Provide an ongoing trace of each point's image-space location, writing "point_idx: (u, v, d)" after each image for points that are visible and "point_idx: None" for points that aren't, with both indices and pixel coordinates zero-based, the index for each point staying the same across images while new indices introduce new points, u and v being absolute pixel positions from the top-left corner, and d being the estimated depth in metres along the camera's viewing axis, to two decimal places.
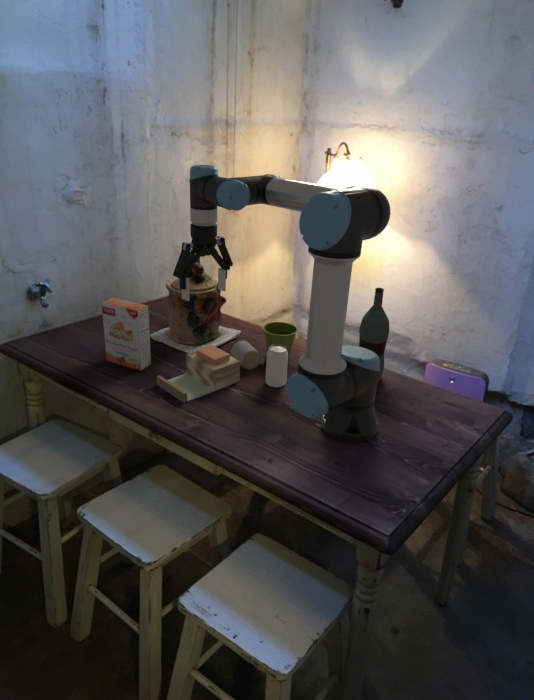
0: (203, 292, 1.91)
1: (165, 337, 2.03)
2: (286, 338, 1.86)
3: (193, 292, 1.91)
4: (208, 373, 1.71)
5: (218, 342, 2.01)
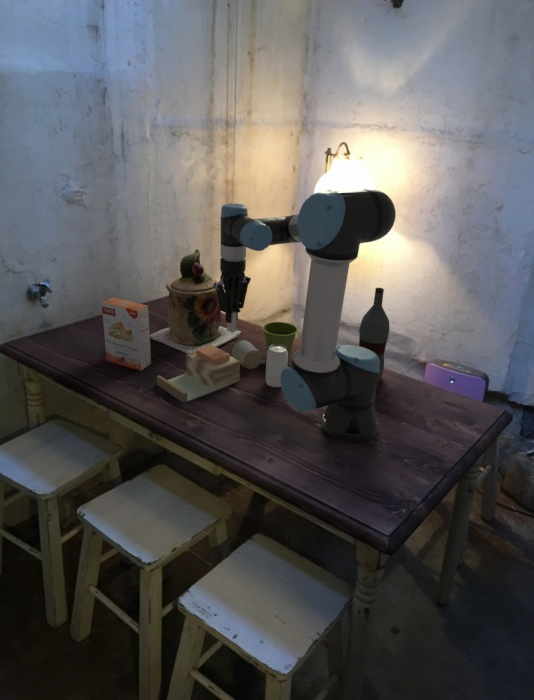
0: (203, 292, 1.91)
1: (165, 338, 2.03)
2: (286, 338, 1.86)
3: (193, 292, 1.91)
4: (208, 373, 1.71)
5: (218, 342, 2.01)
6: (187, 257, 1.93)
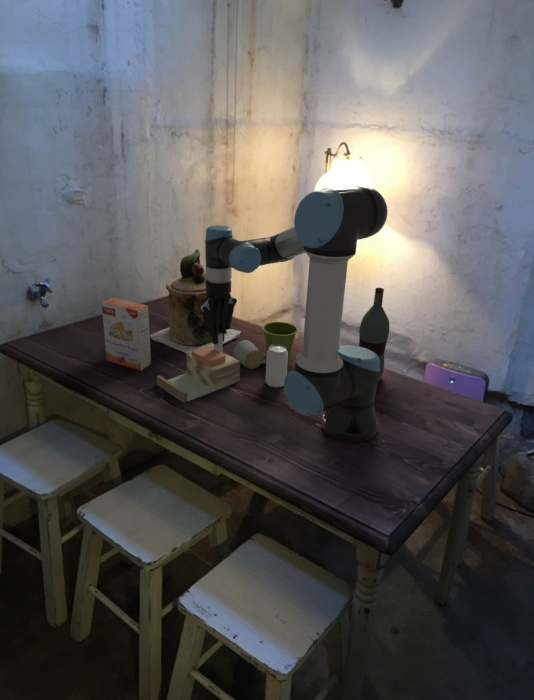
0: (203, 293, 1.91)
1: (165, 338, 2.03)
2: (286, 338, 1.86)
3: (193, 292, 1.91)
4: (208, 373, 1.71)
5: None
6: (187, 257, 1.93)
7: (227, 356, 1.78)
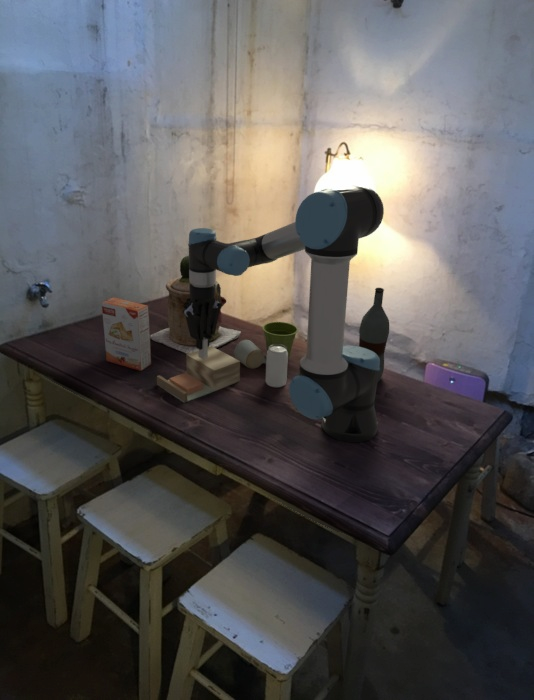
0: None
1: (165, 338, 2.02)
2: (286, 338, 1.86)
3: None
4: (208, 373, 1.71)
5: (218, 343, 2.00)
6: (187, 257, 1.93)
7: (227, 356, 1.78)
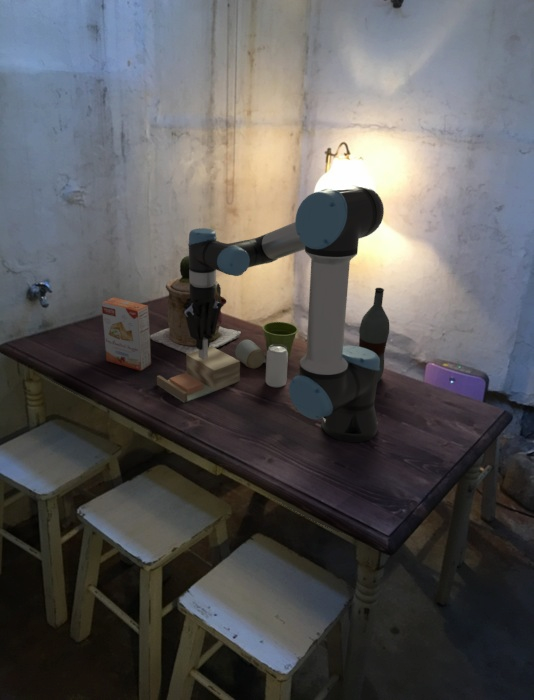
0: None
1: (165, 338, 2.02)
2: (286, 338, 1.86)
3: None
4: (208, 373, 1.71)
5: (218, 343, 2.00)
6: (187, 257, 1.92)
7: (227, 356, 1.78)
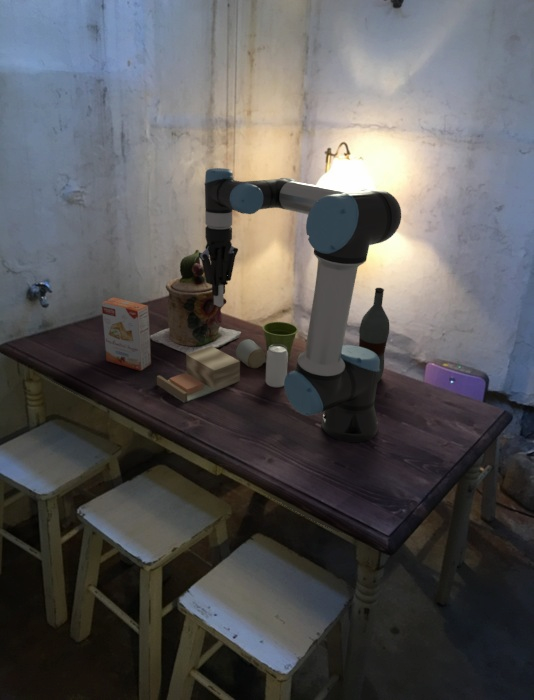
0: (203, 293, 1.91)
1: (165, 339, 2.02)
2: (286, 338, 1.86)
3: (193, 293, 1.90)
4: (208, 373, 1.71)
5: (218, 343, 2.00)
6: (187, 258, 1.92)
7: (227, 356, 1.78)
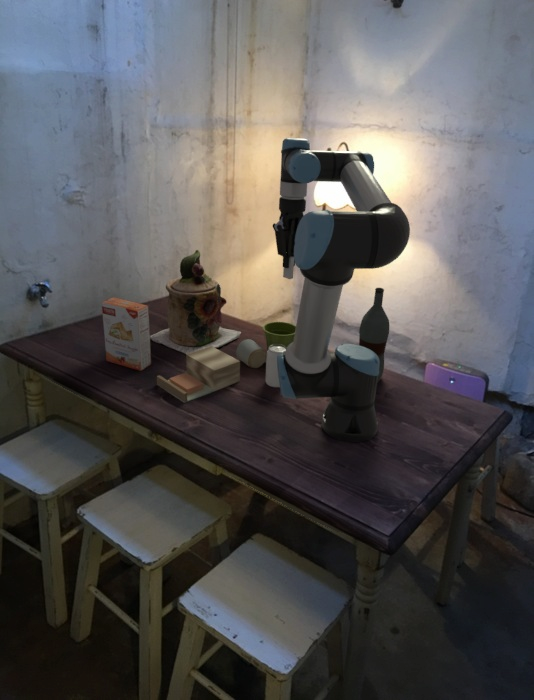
0: (203, 293, 1.90)
1: (165, 339, 2.02)
2: (286, 338, 1.86)
3: (193, 293, 1.90)
4: (208, 373, 1.71)
5: (218, 343, 2.00)
6: (187, 258, 1.92)
7: (227, 356, 1.78)
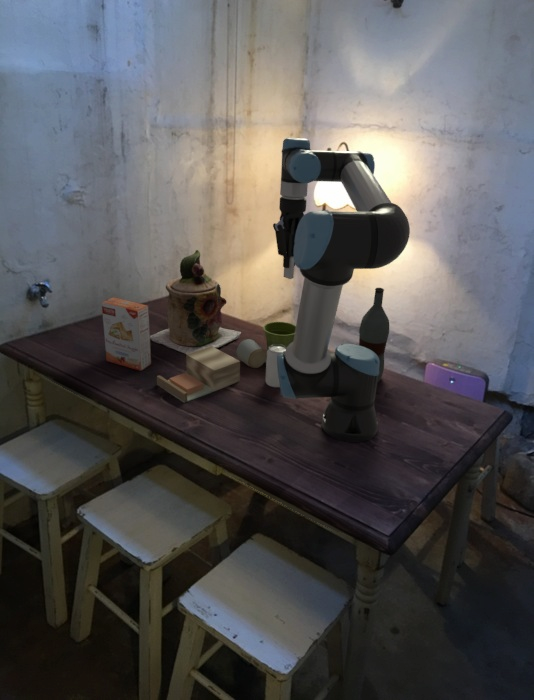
0: (203, 293, 1.90)
1: (165, 339, 2.02)
2: (287, 338, 1.86)
3: (193, 293, 1.90)
4: (208, 373, 1.71)
5: (218, 343, 2.00)
6: (187, 258, 1.92)
7: (227, 356, 1.78)
